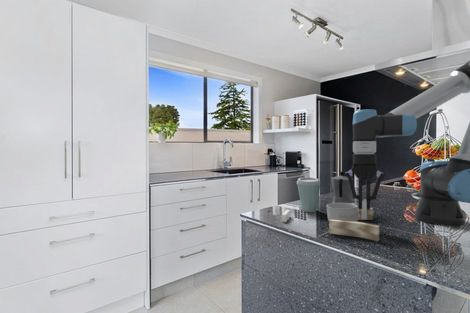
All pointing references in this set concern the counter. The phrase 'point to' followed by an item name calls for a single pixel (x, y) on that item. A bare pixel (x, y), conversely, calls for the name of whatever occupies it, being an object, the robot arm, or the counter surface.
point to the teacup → (342, 211)
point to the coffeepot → (341, 189)
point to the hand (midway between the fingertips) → (364, 218)
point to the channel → (355, 227)
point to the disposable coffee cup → (308, 193)
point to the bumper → (286, 216)
